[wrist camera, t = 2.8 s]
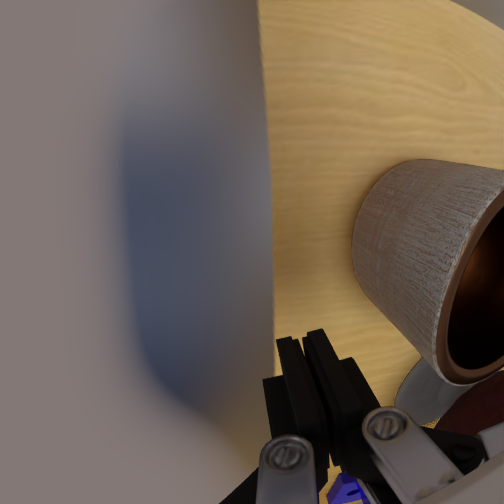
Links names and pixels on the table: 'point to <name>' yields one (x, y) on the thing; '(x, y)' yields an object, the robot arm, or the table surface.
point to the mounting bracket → (346, 490)
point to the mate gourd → (452, 401)
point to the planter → (438, 262)
